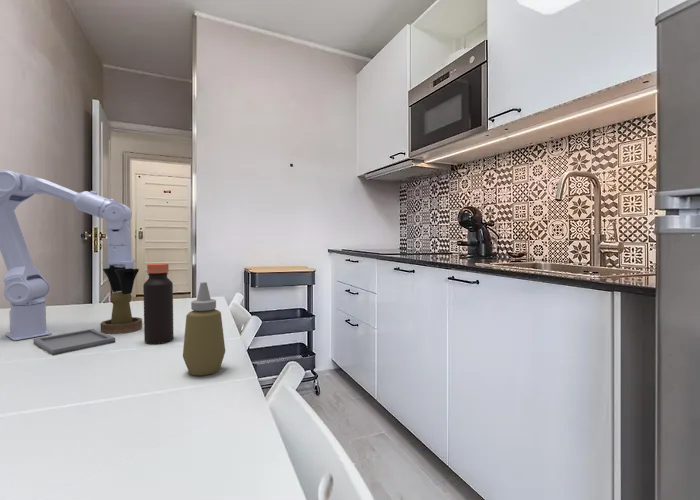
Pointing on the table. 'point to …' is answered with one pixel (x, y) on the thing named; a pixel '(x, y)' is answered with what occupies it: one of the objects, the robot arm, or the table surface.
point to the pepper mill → (121, 308)
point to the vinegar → (158, 305)
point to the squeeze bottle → (203, 335)
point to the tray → (73, 341)
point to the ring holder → (121, 326)
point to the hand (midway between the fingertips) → (121, 292)
